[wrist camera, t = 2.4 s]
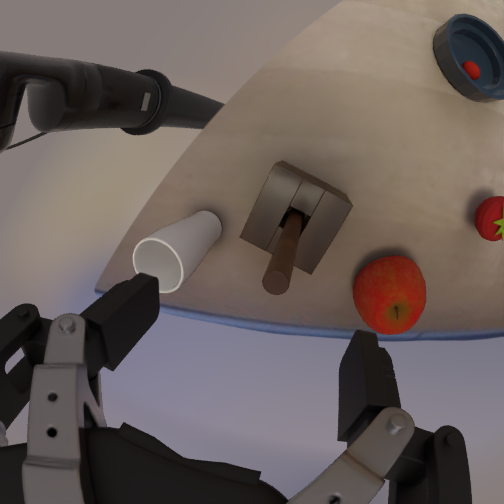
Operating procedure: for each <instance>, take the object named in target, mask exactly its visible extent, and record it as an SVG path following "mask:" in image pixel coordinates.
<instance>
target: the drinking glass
mask: <svg viewBox="0 0 504 504" xmlns="http://www.w3.org/2000/svg"><path fill="white" fill-rule="evenodd" d="M221 232H222V226H221V222H220V220H219V219H218V217H217V216H216V215H215V214H213V213H212V212H209V211H199V212H196V213H195V214H193V215H191V216H188V217H186V218H184V219H181V220H179V221H176V222H174V223H171V224H169V225H166V226H164V227H162V228H160V229H158V230H156V231H154V232H153V233H151V234H150V235H148V236H147V237H145V238H144V239H143V240H141V241H140V242H139V243H138V244H137V245H136V247H135V249H134V253H133V264H134V268H135V271H136V273H137V274H138V273H140V272H142V273H145V274H148V275H151V276H155V277H157V278H158V280H159V292H160V293H170V292H173V291H175V290H177V289H178V288H179V287H180V286H181V285H182V284H183V283H184V282H185V281H186V280H187V279H188V278H189V277H190V276H191V275H192V274H193V272H194V271H195V270H196V269H197V267H198V266H199V264H200V263H201V261H202V260H203V259H204V257H205V256H206V254H207V253H208V251H209V250H210V249H211V247H212V246H213V244H214V243H215V242H216V241H217V240H218V239H219V237H220V235H221Z"/></svg>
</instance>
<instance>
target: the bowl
mask: <svg viewBox="0 0 504 504" xmlns="http://www.w3.org/2000/svg"><path fill="white" fill-rule="evenodd" d="M434 51H435V54H436V57H437V60H438V63H439V65H440V67H441V69H442V71H443V72H444V74H445V76H446V77H447V78H448V80H449V81H450V82H451V83H452V84H453V86H454V87H455V88H456V89H458V90H459V91H460V92H461V93H462V94H464V95H465V96H467V97H469V98H471V99H473V100H475V101H479V102H490V101H497V100H503V99H504V41H503V39H502V38H501V37H500V36H499V34H498V33H497V32H496V31H495V30H494V29H493V28H492V27H490V26H489V25H488V24H487V23H486V22H484V21H482V20H481V19H479V18H477V17H475V16H472V15H468V14H457V15H454V16H453V17H452V18H451V19H449V20H448V21H447V22H446V23H445V24H444V25H443V26H441V27H440V28H439V29H438V30H437V32H436V35H435V37H434ZM465 61H472V62H474V63H475V64H476V65H477V66H478V67H479V69H480V77H479V78H478V79H477V80H472V79H471V78H470V77H469V75H468V74H467V73H466V72H465V70H464V69H463V68H462V65H463V63H464V62H465Z"/></svg>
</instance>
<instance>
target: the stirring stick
mask: <svg viewBox="0 0 504 504" xmlns="http://www.w3.org/2000/svg"><path fill="white" fill-rule="evenodd" d="M303 216H304V213H303V212H301V211H299V210H297V209H295V208H293V207H292V208H291V211H290V213H289V216H288V218H287V221H286V223H285V226H284V228H283V231H282V233H281V236H280V238H279V240H278V243H277V245H276V248H275V250H274V253H273V255H272V257H271V260H270V262H269V265H268V267H267V270H266V272H265V274H264V277H263V280H262V284H263V287H264V289H265V290H266V291H267V292H269V293H270V294H274V295H280V294H283V293H284V292H286V291H287V289H288V288H289V284H290V279H291V275H292V270H293V265H294V261H295V256H296V251H297V246H298V241H299V237H300V232H301V226H302V221H303Z"/></svg>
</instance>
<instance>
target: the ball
mask: <svg viewBox="0 0 504 504" xmlns="http://www.w3.org/2000/svg"><path fill="white" fill-rule="evenodd" d="M462 68H463V69H464V70H465V72H466V73H467V74H468V75H469V77H470V78H471V79H472V80H477V79H478V78H479V77H480V69H479V67H478V66H477V65H476V64H475V63H474V62H472V61H465V62H464V63H463V65H462Z"/></svg>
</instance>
